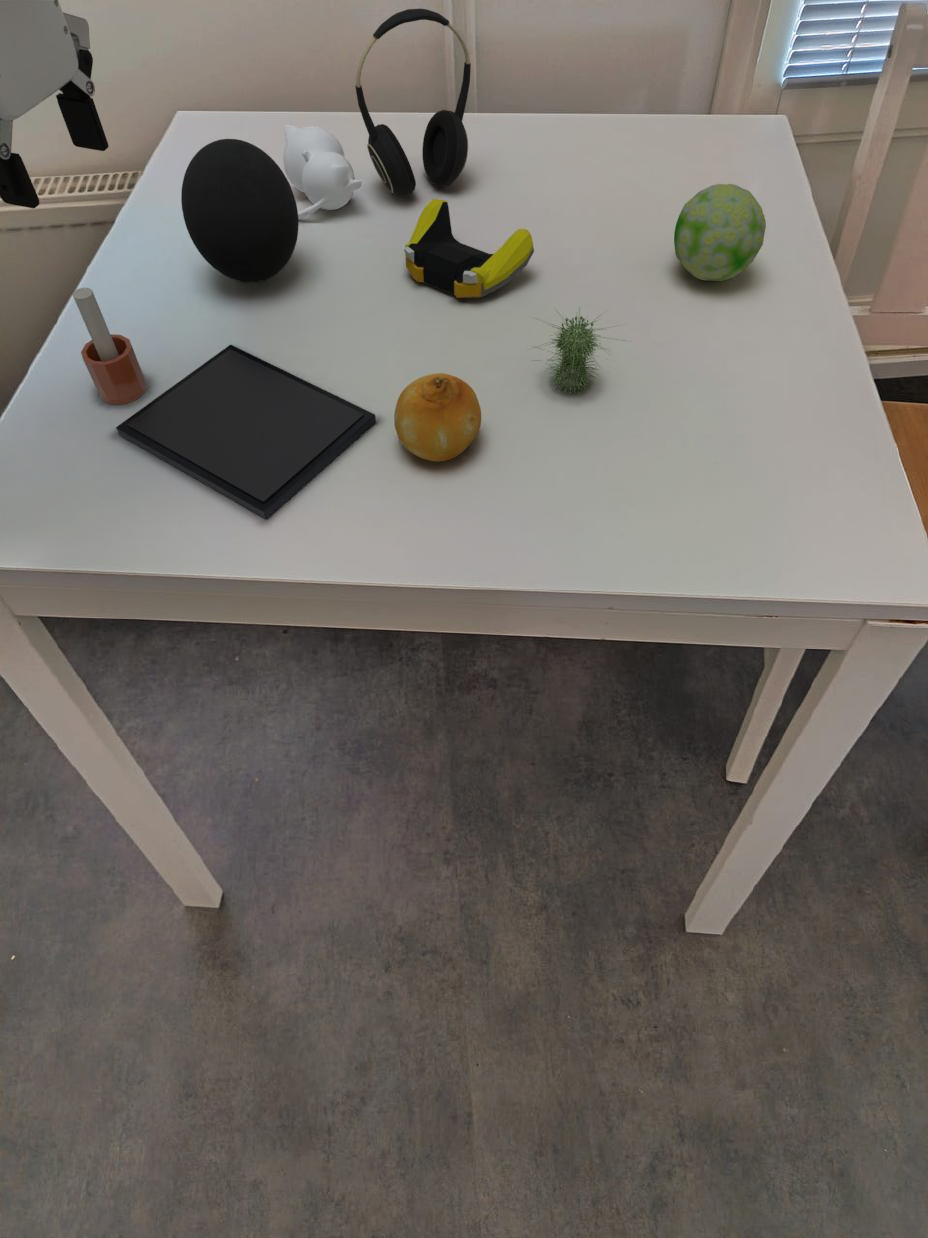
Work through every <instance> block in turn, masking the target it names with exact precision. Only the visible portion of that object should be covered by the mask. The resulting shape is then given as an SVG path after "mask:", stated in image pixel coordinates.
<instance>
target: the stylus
mask: <svg viewBox="0 0 928 1238" xmlns="http://www.w3.org/2000/svg"><path fill="white" fill-rule="evenodd" d="M72 297H73V299H74V302H75V304H76V306H77V308H78V311H79V313H80V315H81V318H82V320H83V322H84V324H85V327H86V329H87V332H88V334H89V336H90V338H91V340H92V341H93V343H94V345H95V348H96V350H97V352H98V355H99V357H100V359H101V361H104V362H105V361H109V360H112V359H115V358H117V357H118V356H119V354H118V352H117V349H116V347H115V344H114V342H113V340H112V337H111V335H110V334H111V333H110V330H109V328H108V325H107V322H106V320H105V317H104V315H103V313H102V311H101V308H100V306H99V304H98V301H97V298H96V296H95V294H94V291H93V289H91V288H89V287H80V288H77V289H76V290H74V291H73V293H72Z"/></svg>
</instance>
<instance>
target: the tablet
mask: <svg viewBox="0 0 928 1238" xmlns="http://www.w3.org/2000/svg"><path fill="white" fill-rule="evenodd" d="M376 423H377V418H376V414H375V413H373V412H371V411H368V410H367V409H365V408H362V407H361V406H358V405H357V404H355V403H353V402H350V401H348V400H346V399H344V398H342V397H339V396H338V395H336V394H334V393H332V392H330V391H328V390H325V389H324V388H321V387H319V386H317V385H315V384H313V383H311V382H310V381H307V380H305V379H303V378H301V377H299V376H296V375H295V374H292V373H290V372H288V371H287V370H284V369H282V368H280V367H278V366H276V365H274V364H271V363H270V362H268V361H266V360H264V359H261V358H259V357H258V356H255V355H253V354H251V353H249V352H247V351H246V350H243V349H241V348H239V347H237V346H235V345H234V344H229V345H227V346H226V347H225V348H223V349H222V350H221V351H219V352H218V353H216V354H215V355H214V356H212V357H211V358H210V359H208V360H206V361H205V362H204V363H203V364H201V365H200V366H198V367H197V368H195V370H193V371H192V372H190V373H189V374H188V375H186V376H185V377H183V378H182V379H180V380H179V381H178V382H176V383H175V384H173V385H172V386H171V387H169V388H168V389H167V390H165V391H164V392H163V393H161V394H160V395H159V396H157V397H156V398H154V399H153V400H151V401H150V402H148V403H147V404H145V406H143V407H142V408H141V409H139V410H138V411H136V412H135V413H134V414H132V415H131V416H130V417H128V418H127V419H126V420H124V421H122V422H121V423H120V424H118V425H117V426H116V427H115V429H116V431H117V433H118V435H119V436H121V437H122V438H124V439H126V440H127V441H129V442H131V443H132V444H134V445H136V446H138V447H139V448H141V449H143V450H144V451H146V452H148V453H150V454H151V455H153V456H155V457H157V458H158V459H161V460H162V461H163V462H166V463H167V464H169V465H171V466H172V467H175V468H176V469H178V470H179V471H181V472H184V473H185V474H187V475H188V476H190V477H192V478H194V479H195V480H196V481H199V482H200V483H202V484H204V485H206V486H208V487H209V488H211V489H213V490H215V491H216V492H218V493H219V494H221V495H222V496H225V497H226V498H228V499H230V500H232V501H234V502H235V503H237V504H239V505H240V506H242V507H244V508H246V509H247V510H249V511H251V512H253V513H254V514H256V515H258V516H260V517H261V518H263V519H265V520H267V519H268V518H270V517H271V516H272V515H273V514H274V513H276V512H277V511H278V510H279V509H280V508H281V507H282V506H283V505H284V504H285V503H287V502H288V501H289V500H290V499H291V498H292V497H294V495H295V494H297V493H298V492H299V491H300V490H301V489H302V488H303V487H305V486H306V485H307V484H308V483H309V482H310V481H312V480H313V479H314V478H315V477H316V476H317V475H318V474H320V472H322V471H323V470H324V469H325V468H326V467H327V466H329V464H330V463H332V462H334V460H335V459H337V458H338V457H339V456H340V455H341V454H343V452H344V451H345V450H346V449H348V448H349V447H350V446H351V445H352V444H353V443H355V441H357V440H358V439H359V438H360V437H361V436H362V435H363V434H364V433H366V432H367V431H368V430H369V429H370V428H371V427H372V426H374V424H376Z"/></svg>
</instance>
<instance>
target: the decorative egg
mask: <svg viewBox="0 0 928 1238" xmlns="http://www.w3.org/2000/svg"><path fill="white" fill-rule="evenodd" d="M288 180H289V179H288V177H286V174H285V173H284V172H283V170H282V169H281V167H280V166H279V164H277V162H276V161H275V160H274V159H273V158H272V157H271V156H270V155H269V154H268V153H266V152H265V151H264V150H263V149H261V148H260V147H258V146H256V145H254V144H253V143H251V142H248V141H245V140H243V139H237V138H221V139H218V140H214V141H212V142H209V143H207V144H205V145H204V146H203V147H202V148H200V149H198V151H197V152H196V153H195V155H194V156H193V157H192V158H191V159H190V162H189V164H188V166H187V167H186V170H185V172H184V175H183V180H182V185H181V196H180V197H181V198H180V199H181V211H182V216H183V220H184V224H185V227H186V230H187V232H188V235H189V237H190V239H191V241H192V243H193V245H194V247H195V248H196V250H197V251H198V253H199V255H200V256H202V258H203V259H204V260H205V261H206V262H207V263H208V264H209V265H210V266H211V267H212V268H213V269H214V270H216V271H217V272H218V273H220V274H222V275H223V276H225V277H227V278H229V279H232V280H234V281H237V282H242V283H260V282H263V281H266V280H268V279H271V278H273V277H274V276H276V275H277V274H279V272H281V271H282V270H283V269H284V268H285V266H286V265H287V264H288V263H289V261H290V259H291V258H292V255H293V253H294V251H295V248H296V246H297V241H298V236H299V220H298V212H299V211H298V206H297V202H296V197H295V194H294V192H293V189H292V186H291V184H290V181H288Z"/></svg>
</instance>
